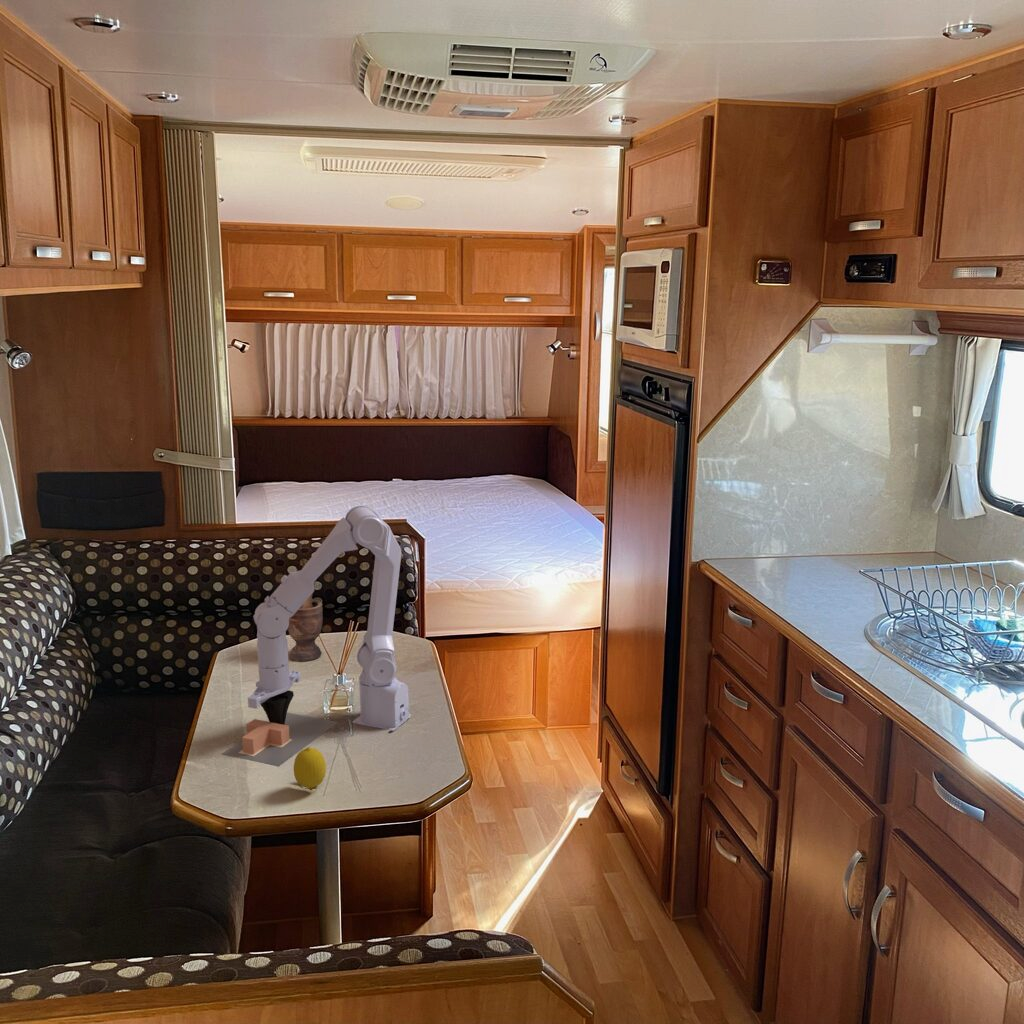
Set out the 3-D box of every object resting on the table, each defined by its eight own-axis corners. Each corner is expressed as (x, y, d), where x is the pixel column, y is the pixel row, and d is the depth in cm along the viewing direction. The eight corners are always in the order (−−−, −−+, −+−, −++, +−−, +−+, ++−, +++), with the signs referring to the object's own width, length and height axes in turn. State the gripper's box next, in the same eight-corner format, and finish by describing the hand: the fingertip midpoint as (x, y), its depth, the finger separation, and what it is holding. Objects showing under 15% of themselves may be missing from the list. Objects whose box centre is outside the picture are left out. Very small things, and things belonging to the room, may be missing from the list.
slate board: (338, 724, 196) (338, 722, 196) (279, 769, 178) (279, 766, 178) (284, 714, 201) (284, 711, 201) (221, 756, 183) (221, 753, 183)
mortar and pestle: (287, 646, 239) (282, 568, 235) (322, 643, 241) (319, 566, 237) (288, 663, 228) (283, 582, 224) (325, 660, 230) (321, 579, 226)
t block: (255, 733, 191) (254, 719, 191) (289, 740, 188) (288, 725, 188) (231, 749, 184) (230, 734, 184) (266, 756, 181) (265, 742, 181)
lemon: (313, 778, 175) (310, 737, 173) (333, 788, 171) (331, 746, 170) (288, 790, 171) (285, 748, 169) (308, 800, 167) (306, 757, 165)
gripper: (278, 647, 196) (282, 710, 199) (232, 673, 183) (237, 740, 186) (308, 652, 194) (311, 715, 197) (264, 679, 181) (268, 746, 184)
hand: (277, 728), depth 191 cm, fingers closed
